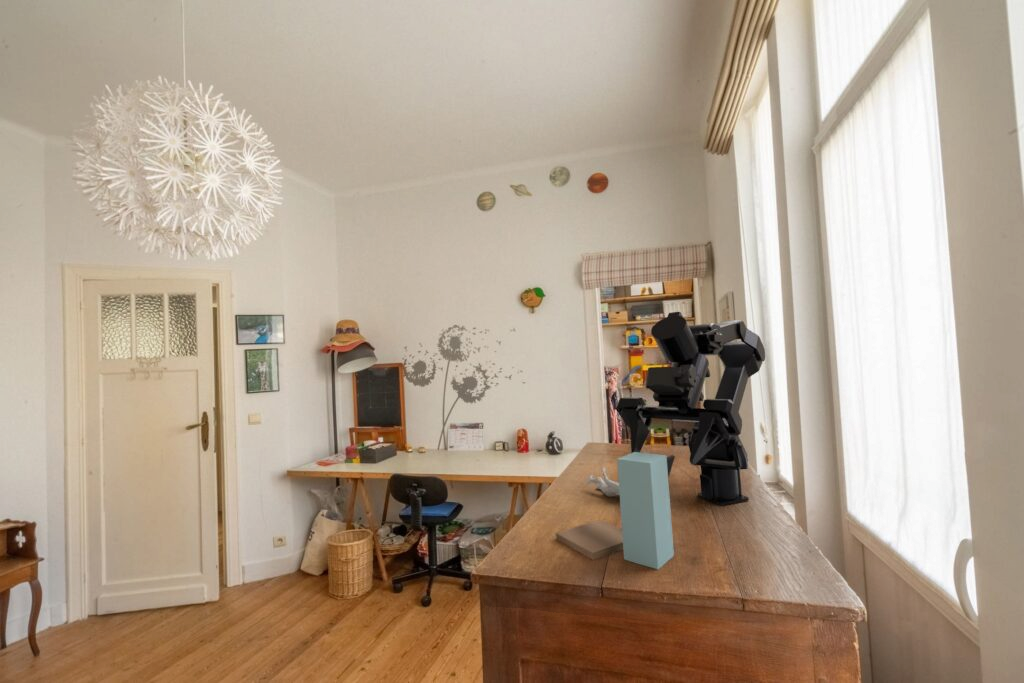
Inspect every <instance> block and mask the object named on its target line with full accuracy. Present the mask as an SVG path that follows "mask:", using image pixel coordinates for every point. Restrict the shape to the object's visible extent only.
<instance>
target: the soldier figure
mask: <svg viewBox="0 0 1024 683" xmlns="http://www.w3.org/2000/svg"><path fill="white" fill-rule="evenodd" d="M606 470H607V469H606V467H602V468H601V471H602V477H603V479H602V477H600V476H597V477H594V475H593V474H590V475H589V476H588V477H589V478H588V480H587V483H588V484H591V483H593V484H597V485H596V486H595V490H599V489H600V491H601V492H603V494H604V495H606V496H607V497H614V496H620V494H619V481H613V480H611V479H609V477H608V476H607V472H606Z"/></svg>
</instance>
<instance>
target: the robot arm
mask: <svg viewBox="0 0 1024 683" xmlns="http://www.w3.org/2000/svg"><path fill="white" fill-rule="evenodd" d="M650 334H651V336H652V338H653V340H654V341H655V343H656V345H657V347H658V349H659V350H660V353H661V354H662V357H663V358H664V360H665V361H667V362H670V363H671V366H652V367H650V366H649V367H647V373H646V378H645V379H646V380H645V386H644V387H645V388H646V389H647V390H648V389H649V390H650V391H651V392H652V393H653V395H652V399H653V400H654V402H658V405H647V404H646V403H645V400H644V399H643V398H642V397H627V396H626V397H620V398H619V400H617V404H616V406H615V408H614V409H615V410H616V412H617V413H618V414H619V416H620V418H621V419H622V421H623V422H624V424H625V425H626V427H628V428H629V432H630V453H633V452H639V453H641V451H642V449H643V446H644V444H645V442H646V440H647V438H648V436H649V434H650V429H649V427H651V425H652V419H655V420H658V419H659V420H672V421H673V422H674V421H675V422H690V423H691V422H692V423H694V425H693V427H692V428H691V431H692V432H691V433H690V434H689V437H688V448H689V452H690V454H689V455H690V456H689V463H690V464H691V466H700V474H699V480H700V483H699V484H700V492H697V497H700V498H701V499H705V500H708V501H710V502H712V503H714V504H717V505H719V506H725V505H729V504H731V505H732V504H735V503H740V502H746V501H749V497H748V496H746V495H743V493H742V481H741V471H742V470H748V469H749V464H748V463H749V460H748V452H747V450H746V449H745V447H744V444H743V443H742V440H741V439H740V435H741V432H742V427H743V419H742V417H741V415H740V413H739V412H740V409H741V404H742V401H743V397H744V394H745V390H746V388H747V384H748V379H749V378H751V377H752V376H754V375H755V374H757V373H758V372H759V371H760V369H761V367H762V364H763V362H764V361H766V360H765V359H766V350H765V347H764V343H763V342H762V340H761V337H760V336H759V335H758V334H757V333H755V332H754V331H752V330H751V329H749V328H747V326H746V324H745V322H744V320H739V319H737V320H723V321H720V322H717V323H715V322H714V323H713V322H712V323H702V324H691V325H689V324H688V322H687V320H686V319H685V318H684V317H683V314H682V312H681V311H674V312H668V314H667V316H666V317H663V318H661V319H660V320H659V321H657V322H656V323H655V324H653V325H652V327H651V330H650ZM735 340H741V341H735ZM716 355H718V357H719V359H720V361H721V363H722V366H723V372H722V377H721V378H720V382H719V384H718V388H717V390H716V394H715V397H714V398H705V399H704V397H705V396H704V394H703V392H702V391H703V388H704V384H705V380H706V378H710V377H711V371H710V369H709V366H710V365H709V364H710V362H709V359H708V358H707V356H716ZM699 402H703V404H702V407H703V408H700V407H699V408H698V405H699Z"/></svg>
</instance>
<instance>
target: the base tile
mask: <svg viewBox="0 0 1024 683" xmlns="http://www.w3.org/2000/svg"><path fill="white" fill-rule="evenodd" d="M555 539H556V540H557V541H559V542H561V543H562V544H564V545H566V546H567V547H569V548H571V549H572V550H575V551H577V552H578V553H580V554H582V555H584V556H585V557H587V558H588V559H590V560H593V561H595V560H598V559H600V558H603V557H606V556H608V555H610V554H614V553H617V552H619V551H621V550H623V536H622V528H620V527H617V526H614V525H612V524H610V523H608V522H605V521H603V520H601V519H598V520H595V521H592V522H588V523H586V524H582V525H578V526H575V527H571V528H568V529H566V530H562V531H559V532H556V533H555Z"/></svg>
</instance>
